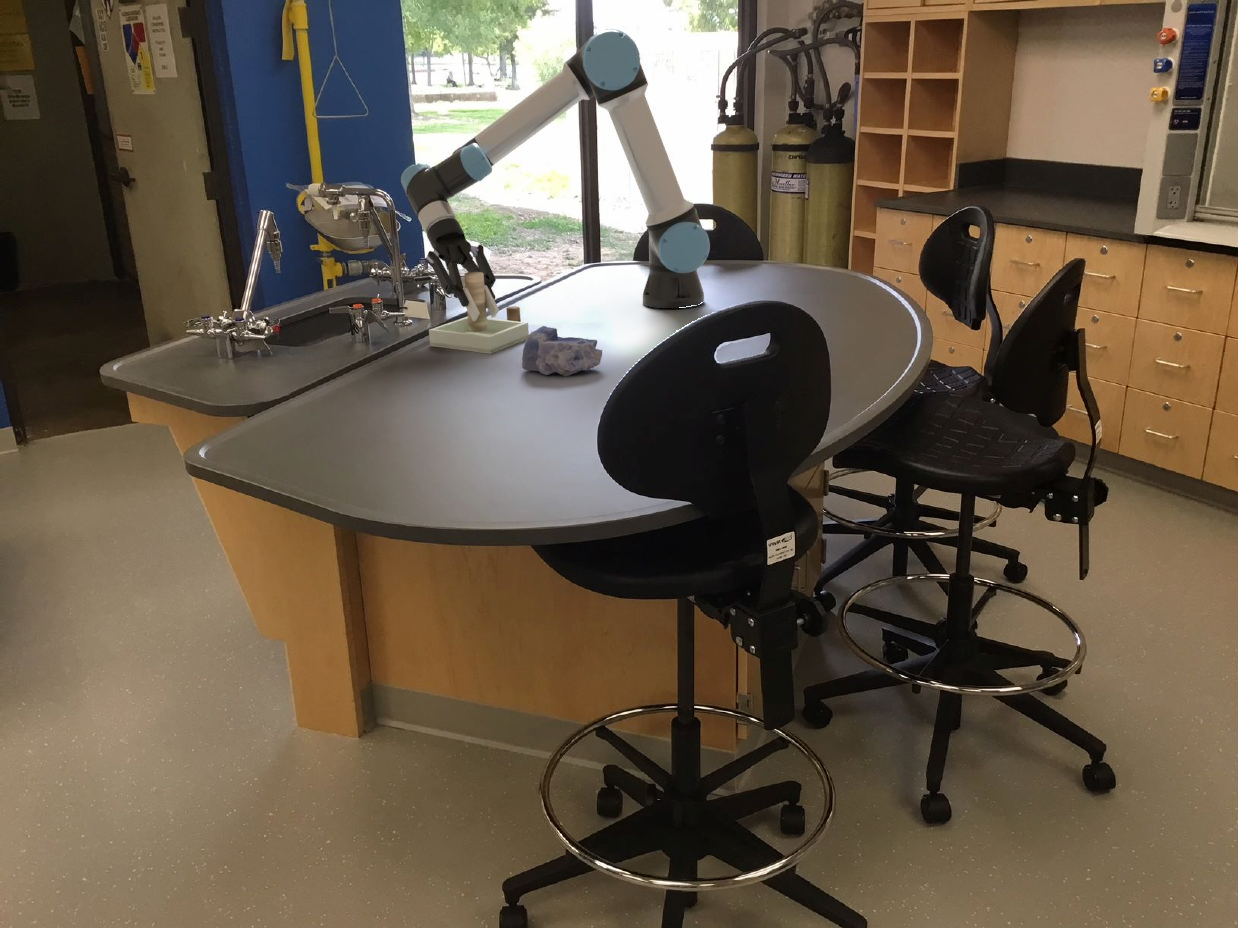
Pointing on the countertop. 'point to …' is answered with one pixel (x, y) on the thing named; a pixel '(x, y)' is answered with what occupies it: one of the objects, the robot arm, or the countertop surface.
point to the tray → (479, 335)
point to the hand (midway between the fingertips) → (485, 315)
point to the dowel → (477, 300)
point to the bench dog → (513, 313)
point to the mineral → (558, 353)
